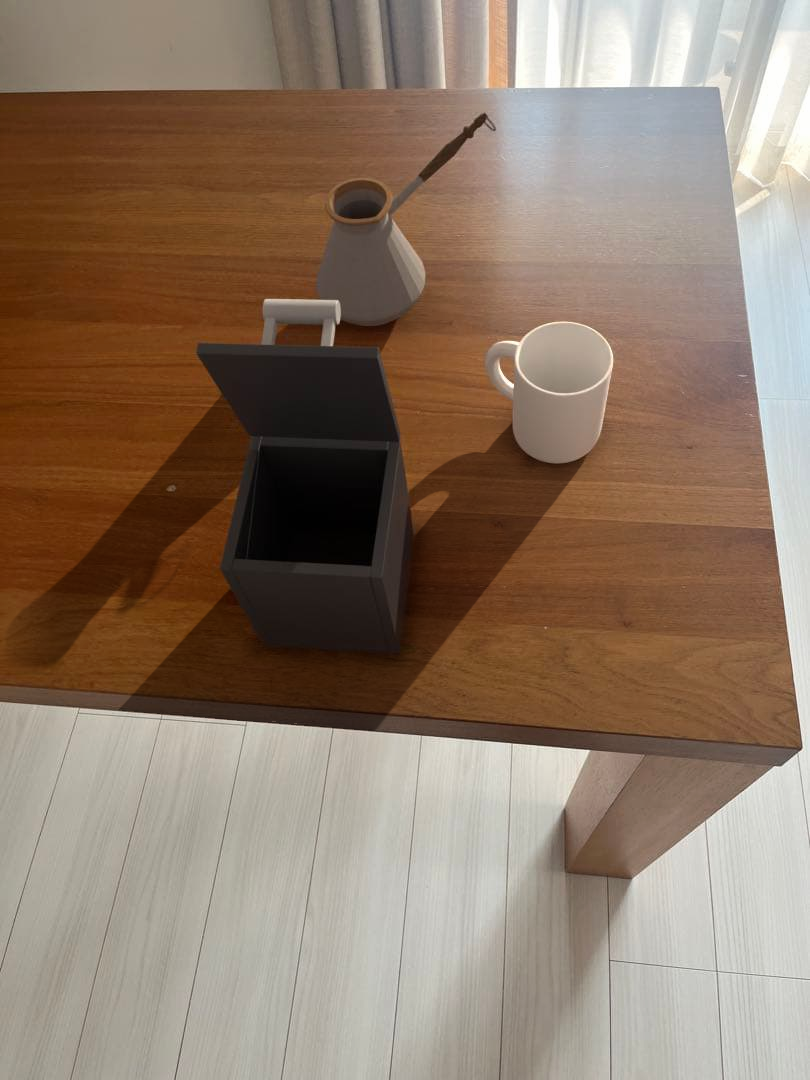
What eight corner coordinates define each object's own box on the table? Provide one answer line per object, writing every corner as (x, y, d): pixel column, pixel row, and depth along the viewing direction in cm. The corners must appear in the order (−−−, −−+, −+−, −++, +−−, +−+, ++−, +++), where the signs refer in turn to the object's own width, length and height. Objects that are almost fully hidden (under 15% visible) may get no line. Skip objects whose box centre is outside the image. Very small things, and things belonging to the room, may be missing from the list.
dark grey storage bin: (399, 654, 74) (382, 578, 62) (262, 645, 75) (219, 568, 63) (414, 532, 80) (400, 441, 68) (286, 526, 81) (251, 435, 69)
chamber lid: (377, 358, 55) (385, 283, 57) (195, 353, 57) (208, 280, 58) (399, 442, 67) (405, 378, 69) (248, 436, 68) (258, 374, 70)
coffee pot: (357, 357, 90) (335, 241, 77) (300, 293, 96) (271, 175, 83) (523, 263, 95) (528, 139, 82) (460, 207, 100) (456, 82, 87)
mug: (462, 423, 85) (459, 350, 76) (511, 367, 88) (513, 291, 79) (570, 481, 81) (579, 411, 72) (617, 421, 84) (631, 346, 75)
